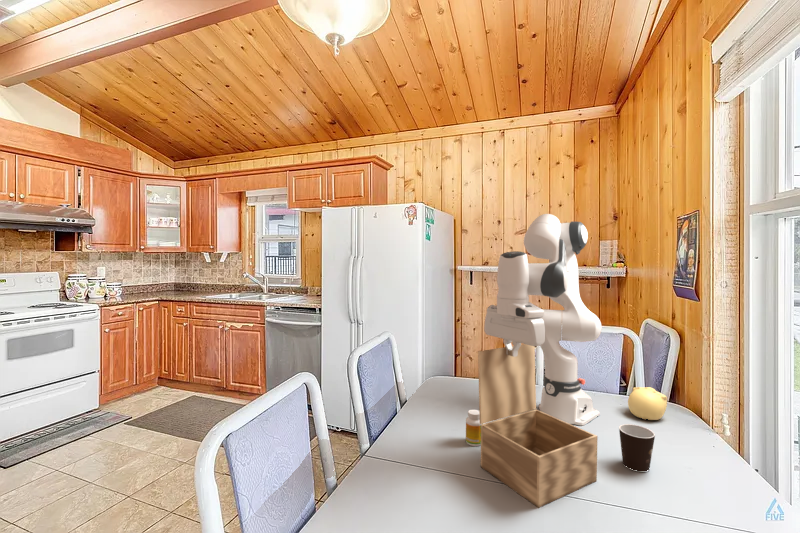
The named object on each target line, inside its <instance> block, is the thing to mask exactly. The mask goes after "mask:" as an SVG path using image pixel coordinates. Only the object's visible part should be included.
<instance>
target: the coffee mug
mask: <svg viewBox="0 0 800 533" xmlns="http://www.w3.org/2000/svg"><path fill="white" fill-rule="evenodd" d="M618 431H619V441H620V449H621V459H622V465H623V464H624V465H625V466H627V467H628V468H631V469H633V470H637V471H647V470H649V471H650V469H649V468H650V467H651V462H652V457H653V449H654V443H655V437H656V434H655V432H654V431H653V430H651V429H650V428H648V427H644V426H642V425H637V424H630V423H626V424H621V425H619V427H618ZM624 465H623V466H624ZM625 466H624V467H625ZM627 467H626V468H627ZM628 468H627V469H628ZM633 470H632V471H633Z"/></svg>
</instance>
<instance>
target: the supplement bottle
mask: <svg viewBox="0 0 800 533" xmlns="http://www.w3.org/2000/svg"><path fill="white" fill-rule="evenodd" d="M467 415H468V416H467V417H466V418H465V419H466V420H465V442H466V444H467V445H468V446H469V445H470V446H472V447H479V446H480V447H481V425H482V424H480V414H479V409H469V410H468V411H467Z"/></svg>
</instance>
